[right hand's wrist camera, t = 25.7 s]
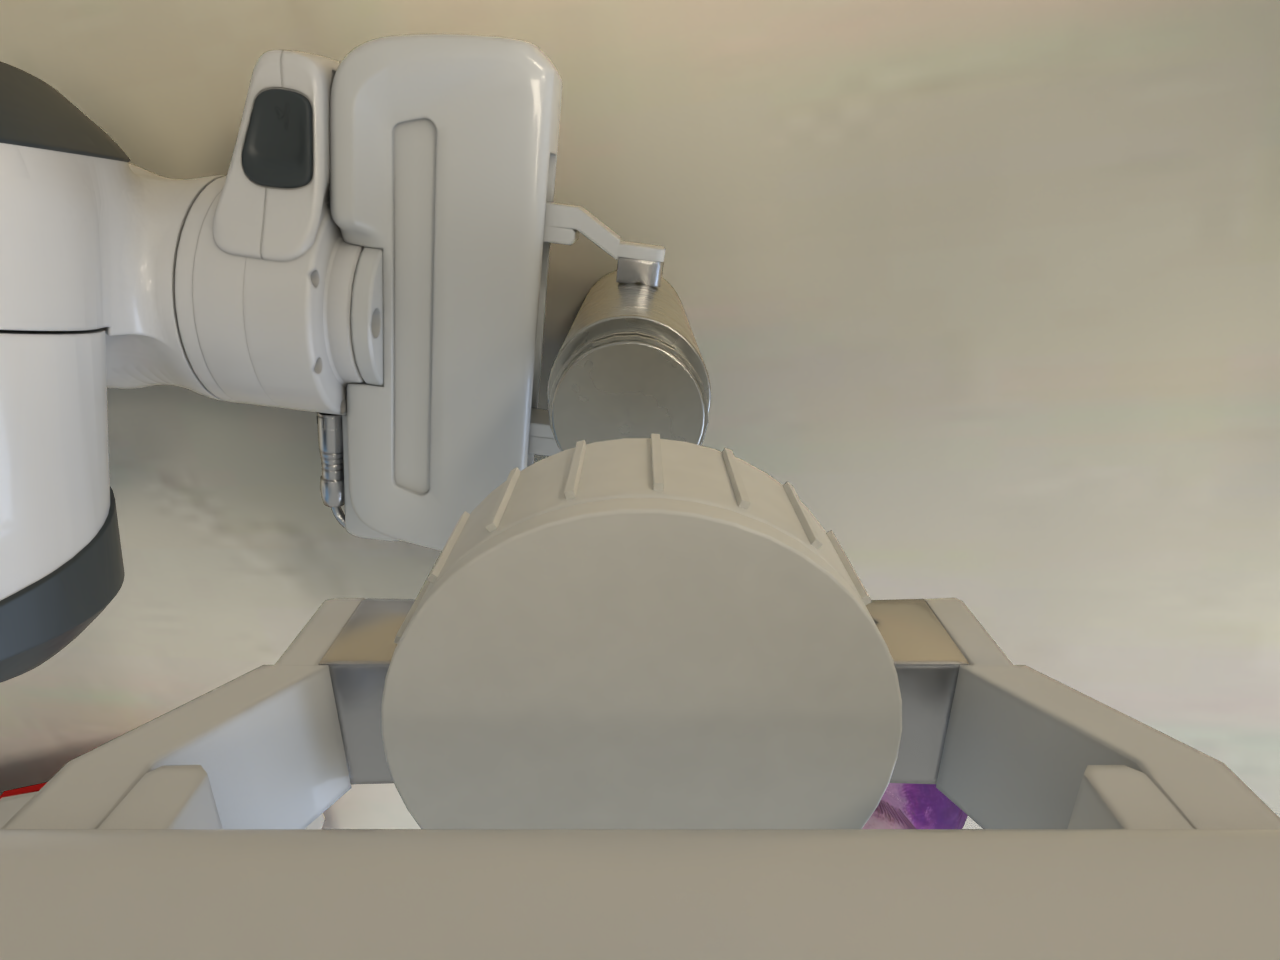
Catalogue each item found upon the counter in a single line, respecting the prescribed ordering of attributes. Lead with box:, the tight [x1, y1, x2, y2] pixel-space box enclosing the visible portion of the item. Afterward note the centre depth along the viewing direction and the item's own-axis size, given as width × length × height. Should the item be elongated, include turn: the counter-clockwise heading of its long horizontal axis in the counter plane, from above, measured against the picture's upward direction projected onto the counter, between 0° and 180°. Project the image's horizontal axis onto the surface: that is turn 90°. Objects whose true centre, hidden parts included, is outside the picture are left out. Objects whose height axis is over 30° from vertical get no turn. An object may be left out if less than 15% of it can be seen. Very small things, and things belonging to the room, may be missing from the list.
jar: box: [547, 270, 711, 452], centre depth 28 cm, size 5×5×16 cm
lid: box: [381, 433, 902, 829], centre depth 9 cm, size 6×6×2 cm
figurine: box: [862, 783, 968, 829], centre depth 37 cm, size 9×10×15 cm
